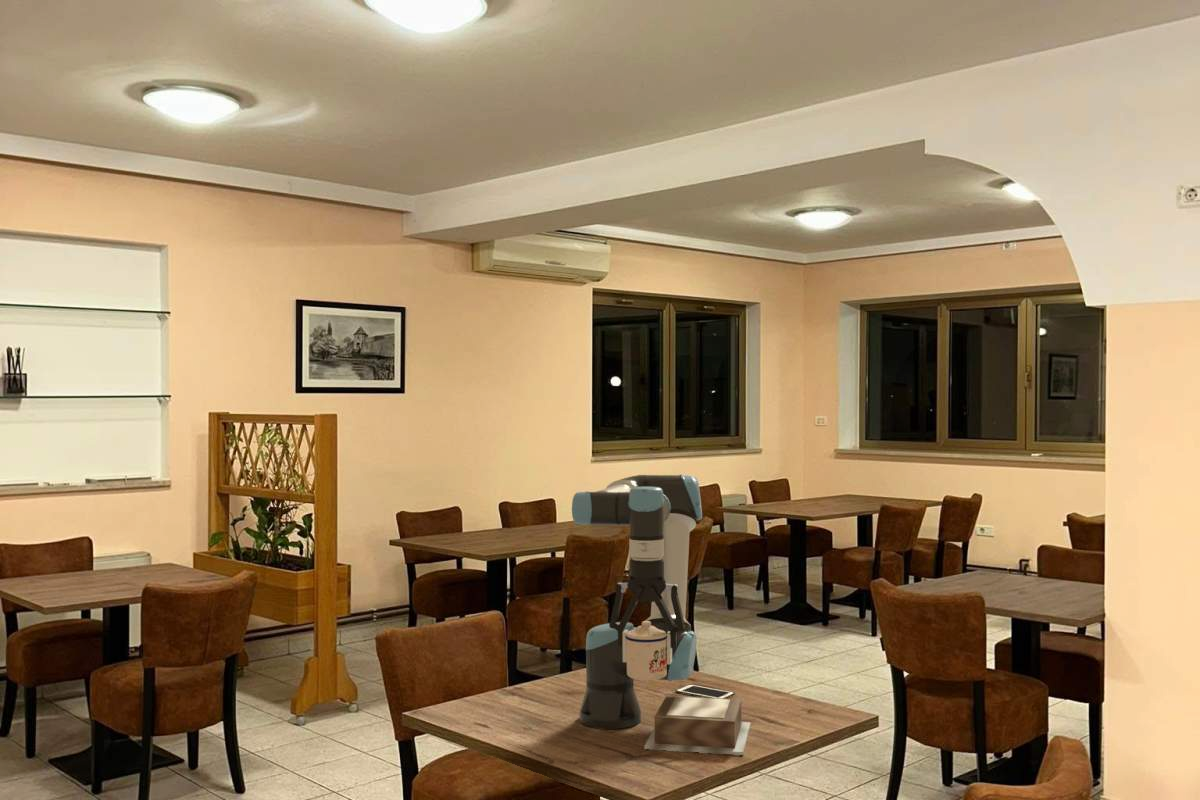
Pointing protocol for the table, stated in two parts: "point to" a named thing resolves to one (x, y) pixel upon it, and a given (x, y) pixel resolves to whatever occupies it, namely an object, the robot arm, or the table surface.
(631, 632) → the teacup with lid
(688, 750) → the plinth
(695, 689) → the cell phone
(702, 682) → the table surface
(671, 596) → the robot arm
